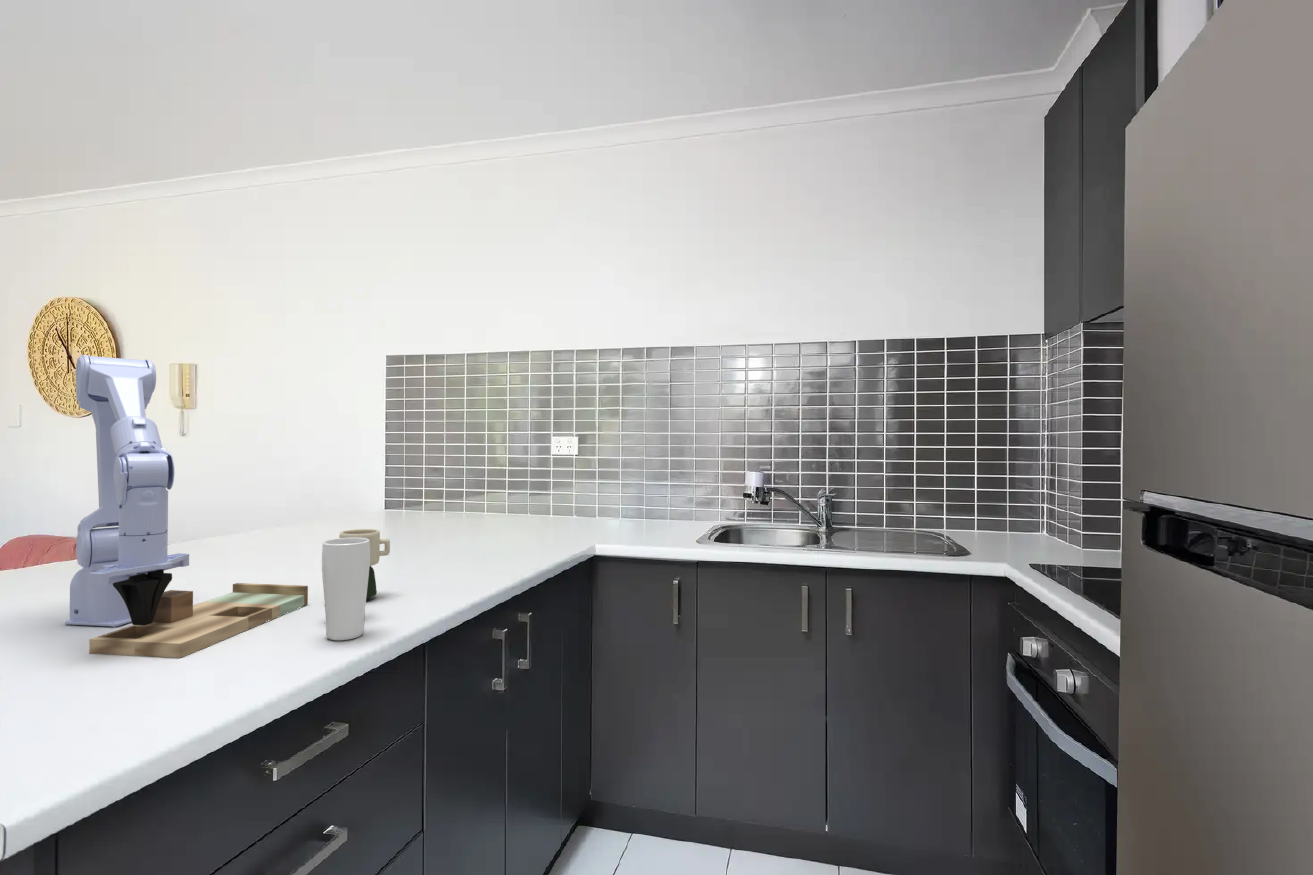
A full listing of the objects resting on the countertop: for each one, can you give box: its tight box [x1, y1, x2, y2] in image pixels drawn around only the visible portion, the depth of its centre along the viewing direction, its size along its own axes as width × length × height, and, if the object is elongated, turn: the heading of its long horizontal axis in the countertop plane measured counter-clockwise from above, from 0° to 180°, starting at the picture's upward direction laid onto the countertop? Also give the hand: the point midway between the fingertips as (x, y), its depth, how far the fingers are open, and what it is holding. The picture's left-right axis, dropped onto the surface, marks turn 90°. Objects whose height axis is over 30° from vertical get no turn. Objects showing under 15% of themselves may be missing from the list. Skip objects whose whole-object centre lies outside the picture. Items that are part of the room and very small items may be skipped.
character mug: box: [338, 528, 391, 600], centre depth 121 cm, size 11×7×13 cm, turn 126°
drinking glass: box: [321, 538, 370, 642], centre depth 99 cm, size 7×7×15 cm
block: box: [153, 589, 194, 623], centre depth 100 cm, size 4×4×4 cm
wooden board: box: [88, 582, 309, 659], centre depth 104 cm, size 14×28×4 cm, turn 175°
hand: (142, 623), depth 95 cm, fingers closed
